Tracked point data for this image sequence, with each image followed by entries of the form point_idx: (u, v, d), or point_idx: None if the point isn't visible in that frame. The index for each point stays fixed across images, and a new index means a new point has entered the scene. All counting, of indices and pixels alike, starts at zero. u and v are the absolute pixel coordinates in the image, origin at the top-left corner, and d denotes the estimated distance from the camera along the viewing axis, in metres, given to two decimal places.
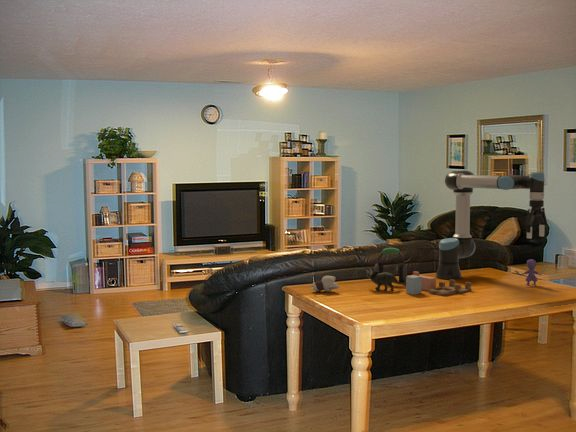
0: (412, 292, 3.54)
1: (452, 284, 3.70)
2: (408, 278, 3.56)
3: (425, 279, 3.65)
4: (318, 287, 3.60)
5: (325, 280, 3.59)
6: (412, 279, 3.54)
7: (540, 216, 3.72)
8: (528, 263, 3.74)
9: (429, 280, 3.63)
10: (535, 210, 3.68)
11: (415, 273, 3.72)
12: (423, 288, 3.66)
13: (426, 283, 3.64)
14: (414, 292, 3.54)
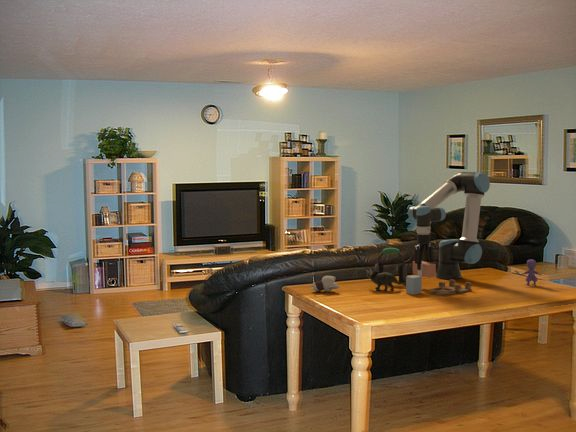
0: (412, 292, 3.54)
1: (452, 284, 3.70)
2: (408, 278, 3.56)
3: (424, 265, 3.64)
4: (318, 287, 3.60)
5: (325, 280, 3.59)
6: (412, 279, 3.54)
7: (426, 251, 3.68)
8: (528, 263, 3.74)
9: (427, 266, 3.62)
10: (421, 244, 3.65)
11: None
12: (423, 274, 3.66)
13: (425, 269, 3.64)
14: (414, 292, 3.54)
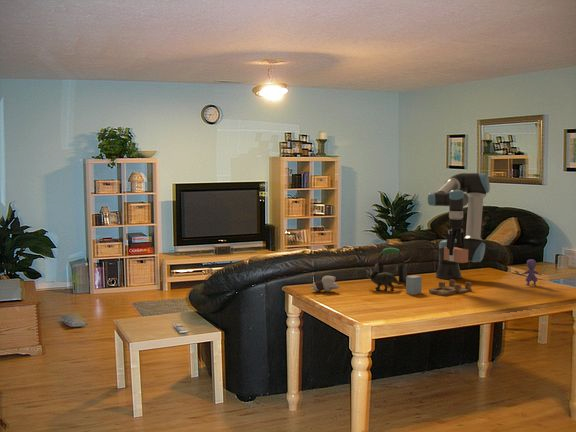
0: (412, 292, 3.54)
1: (452, 284, 3.70)
2: (408, 278, 3.56)
3: (456, 250, 3.57)
4: (318, 287, 3.60)
5: (325, 280, 3.59)
6: (412, 279, 3.54)
7: (459, 236, 3.62)
8: (528, 263, 3.74)
9: (460, 251, 3.55)
10: (454, 229, 3.58)
11: None
12: (455, 260, 3.59)
13: (457, 255, 3.57)
14: (414, 292, 3.54)
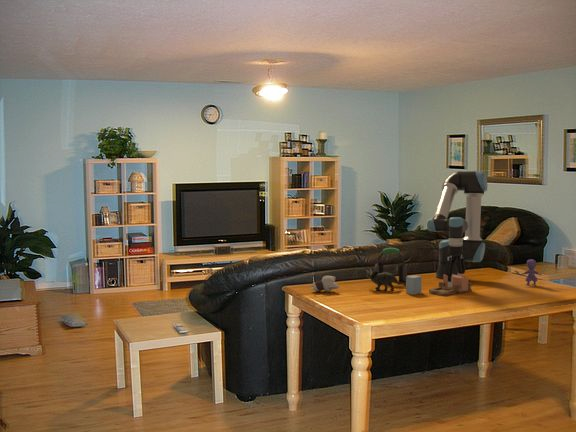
0: (412, 292, 3.54)
1: None
2: (408, 278, 3.56)
3: (457, 279, 3.59)
4: (318, 287, 3.60)
5: (325, 280, 3.59)
6: (412, 279, 3.54)
7: (459, 263, 3.63)
8: (528, 263, 3.74)
9: (460, 280, 3.56)
10: (454, 256, 3.60)
11: None
12: None
13: (458, 283, 3.58)
14: (414, 292, 3.54)
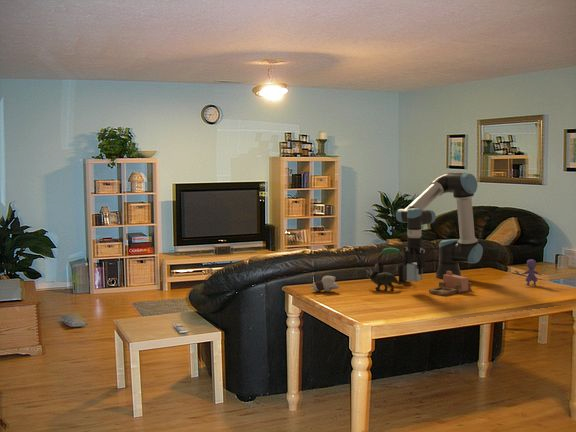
0: (413, 279, 3.54)
1: None
2: (409, 266, 3.55)
3: (457, 279, 3.59)
4: (318, 287, 3.60)
5: (325, 280, 3.59)
6: (413, 266, 3.53)
7: None
8: (528, 263, 3.74)
9: (460, 280, 3.56)
10: (408, 247, 3.57)
11: (448, 272, 3.67)
12: None
13: (458, 283, 3.58)
14: (415, 279, 3.54)
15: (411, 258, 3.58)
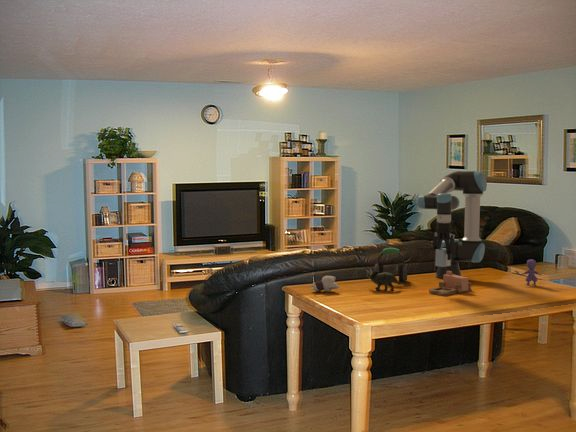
0: (442, 264, 3.52)
1: None
2: (438, 251, 3.53)
3: (457, 279, 3.59)
4: (318, 287, 3.60)
5: (325, 280, 3.59)
6: (442, 251, 3.51)
7: None
8: (528, 263, 3.74)
9: (460, 280, 3.56)
10: (438, 232, 3.55)
11: (448, 272, 3.67)
12: None
13: (458, 283, 3.58)
14: (444, 264, 3.52)
15: (440, 244, 3.56)
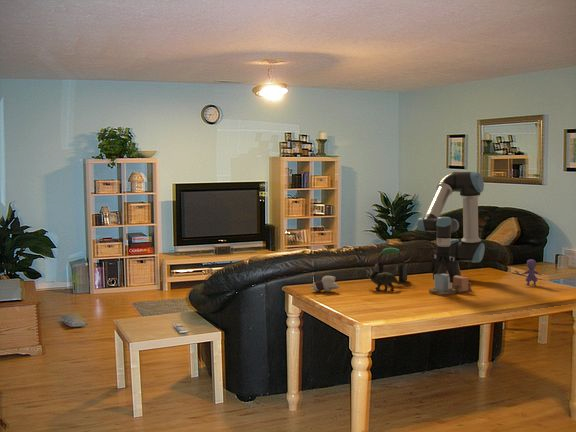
0: (441, 290, 3.53)
1: None
2: (438, 277, 3.54)
3: (457, 279, 3.59)
4: (318, 287, 3.60)
5: (325, 280, 3.59)
6: (441, 277, 3.52)
7: None
8: (528, 263, 3.74)
9: (460, 280, 3.56)
10: (437, 255, 3.57)
11: None
12: None
13: (458, 283, 3.58)
14: (443, 290, 3.53)
15: (438, 266, 3.58)
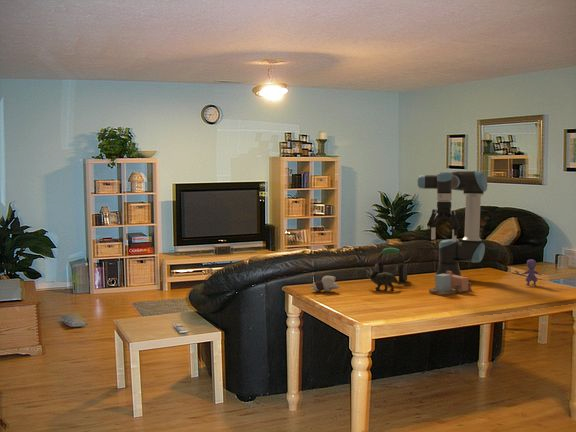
0: (441, 290, 3.53)
1: None
2: (438, 277, 3.54)
3: (457, 279, 3.59)
4: (318, 287, 3.60)
5: (325, 280, 3.59)
6: (441, 277, 3.52)
7: None
8: (528, 263, 3.74)
9: (460, 280, 3.56)
10: (438, 211, 3.54)
11: (448, 272, 3.67)
12: None
13: (458, 283, 3.58)
14: (443, 290, 3.53)
15: (437, 221, 3.57)
